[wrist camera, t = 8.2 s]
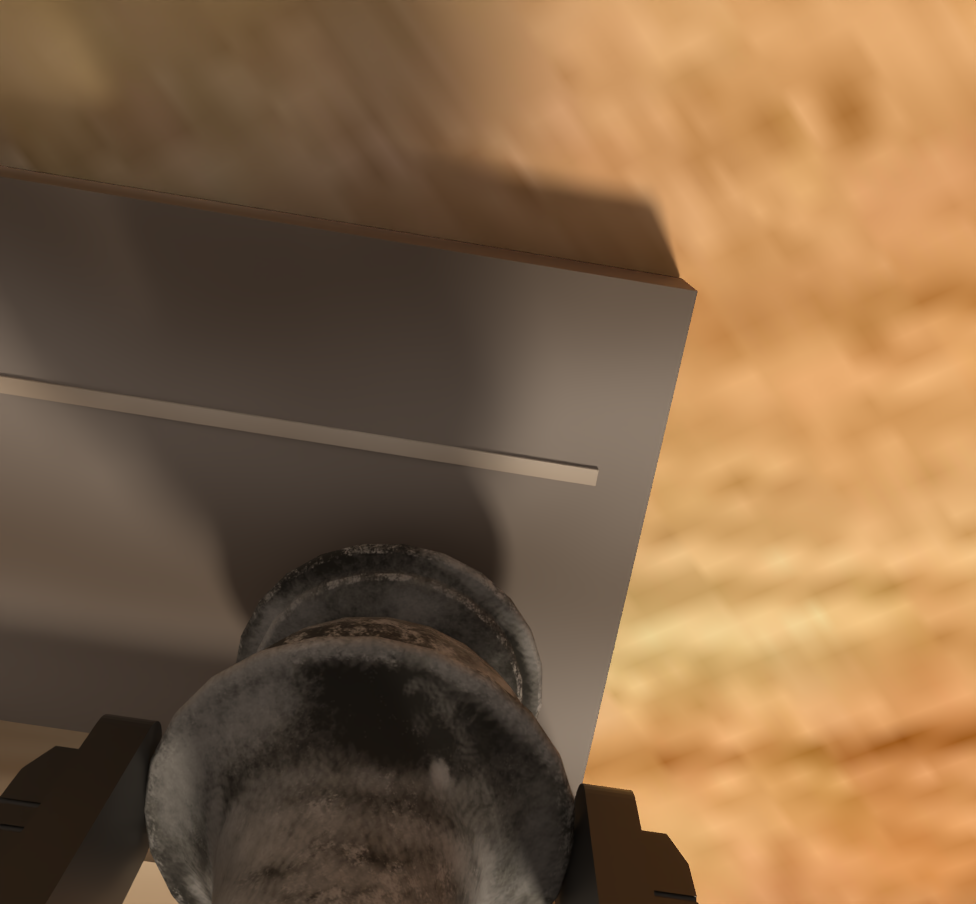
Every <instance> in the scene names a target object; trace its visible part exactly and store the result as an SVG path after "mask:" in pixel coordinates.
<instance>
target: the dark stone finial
mask: <svg viewBox="0 0 976 904" xmlns="http://www.w3.org/2000/svg"><path fill="white" fill-rule="evenodd" d="M541 706H542V663H541V660H540V656H539V653H538V650H537V646H536V643H535V640H534V636H533V633H532V630H531V629H530V627H529V626H528V624H527V622H526V621H525V619H524V618H523V616H522V615H521V613H520V612H519V610H518V609H517V607H516V606H515V604H514V603H513V601H512V600H511V598H510V597H508V596H507V595H506V594H505V593H504V592H503V591H502V590H501V589H499V588H498V587H497V586H496V585H495V584H494V583H493V582H492V581H490V580H489V579H488V578H487V577H486V576H485V575H484V574H482V573H481V572H479V571H478V570H476V569H474V568H472V567H470V566H468V565H466V564H464V563H462V562H460V561H458V560H456V559H454V558H452V557H450V556H448V555H446V554H444V553H440V552H436V551H432V550H427V549H423V548H419V547H415V546H410V545H406V544H359V545H355V546H352V547H348V548H344V549H340V550H336V551H332V552H328V553H324V554H321V555H319V556H317V557H315V558H314V559H312V560H310V561H308V562H306V563H305V564H303V565H301V566H299V567H297V568H296V569H294V570H292V571H290V572H288V573H287V574H286V575H285V576H284V577H283V578H282V579H281V580H280V581H279V582H278V583H277V584H276V585H275V586H274V587H273V588H272V589H271V590H270V591H269V592H268V593H267V594H266V595H265V596H264V597H263V598H262V599H261V600H260V601H259V603H258V605H257V607H256V609H255V610H254V612H253V614H252V616H251V618H250V620H249V622H248V623H247V625H246V627H245V629H244V631H243V633H242V635H241V639H240V644H239V649H238V655H237V660H236V664H235V665H233V666H231V667H229V668H227V669H225V670H223V671H222V672H220V673H218V674H216V675H214V676H212V677H211V678H210V679H209V680H208V681H207V682H206V683H205V684H204V685H203V686H202V687H201V688H200V689H199V690H198V691H197V692H196V693H195V694H194V695H193V696H192V697H191V698H190V699H189V700H188V701H187V702H186V703H185V704H184V705H183V706H182V707H181V708H180V709H179V710H178V711H177V712H176V713H175V714H174V716H173V718H172V719H171V721H170V723H169V725H168V727H167V729H166V731H165V733H164V735H163V737H162V738H161V740H160V742H159V744H158V746H157V748H156V750H155V752H154V754H153V756H152V757H151V759H150V764H149V770H148V776H147V785H146V796H145V807H144V812H145V823H146V829H147V835H148V841H149V848H150V853H151V855H152V857H153V859H154V861H155V863H156V865H157V867H158V869H159V871H160V873H161V875H162V877H163V879H164V881H165V883H166V885H167V887H168V889H169V891H170V893H171V895H172V896H173V898H174V899H175V900H176V901H177V902H178V903H179V904H552V903H553V902H554V901H555V899H556V898H557V897H558V895H559V893H560V890H561V887H562V884H563V881H564V879H565V875H566V872H567V868H568V865H569V861H570V857H571V853H572V848H573V842H574V824H575V803H574V798H573V795H572V792H571V788H570V785H569V782H568V779H567V775H566V772H565V769H564V765H563V762H562V759H561V756H560V754H559V752H558V751H557V749H556V748H555V746H554V745H553V743H552V742H551V740H550V739H549V737H548V736H547V734H546V733H545V731H544V730H543V728H542V727H541V726H540V724H539V723H538V721H537V718H538V715H539V712H540V709H541Z"/></svg>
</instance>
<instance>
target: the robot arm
mask: <svg viewBox="0 0 976 904" xmlns="http://www.w3.org/2000/svg"><path fill="white" fill-rule="evenodd" d="M161 738H162V727H161V724H160V722H159V721H154V720H147V719H140V718H133V717H126V716H119V715H112V714H104V715H103V716H102V717H101V718H100V719H99V720H98V722H97V723H96V725H95V726H94V727H93V729H92V730H91V732H90V733H89V735H88V736H87V738H86V739H85V740H84V742H83V743H82V745H81V746H80V748H79V749H76V748H69V747H62V746H55V747H53V748H52V749H50V750H48V751H47V752H45V753H44V754H42V755H41V756H39V757H38V758H36V759H35V760H33V761H32V762H30V763H29V764H27V765H26V766H24V767H23V768H21V770H20V771H19V772H18V774H17V775H16V776H15V777H14V779H13V780H12V781H11V783H10V784H9V785H8V787H7V788H6V789H5V791H4V792H3V793H2V795H1V796H0V904H123V902H124V900H125V898H126V896H127V894H128V892H129V890H130V888H131V886H132V883H133V881H134V879H135V877H136V875H137V873H138V871H139V869H140V867H141V865H142V863H143V861H144V859H145V857H146V855H147V852H148V849H149V841H148V835H147V829H146V823H145V812H144V807H145V796H146V785H147V776H148V770H149V764H150V759H151V757H152V756H153V754H154V752H155V750H156V748H157V746H158V744H159V742H160V740H161ZM574 803H575V824H574V842H573V848H572V853H571V857H570V861H569V865H568V868H567V872H566V875H565V879H564V881H563V884H562V887H561V890H560V893H559V895H558V897H557V898H556V899H555V904H698V903H697V902H696V897H697V896H696V892H695V888H694V884H693V880H692V876H691V872H690V868H689V865H688V863H687V861H686V860H685V859H684V857H683V856H682V855H681V853H680V852H679V850H678V849H677V848H676V846H675V845H674V844H673V842H672V841H671V839H670V838H669V837H668V835H667V834H663V833H656V832H649V831H642V830H641V825H640V820H639V815H638V811H637V806H636V801H635V796H634V794H633V792H632V791H631V790H624V789H617V788H610V787H603V786H596V785H590V784H583V783H581V784H580V785H579V787H578V789H577V792H576V796H575V800H574Z"/></svg>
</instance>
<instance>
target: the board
mask: <svg viewBox="0 0 976 904" xmlns="http://www.w3.org/2000/svg"><path fill="white" fill-rule="evenodd" d="M696 296H697V290H695V289H694V288H693V287H692V286H690V285H689V284H688V283H687V282H685V281H684V280H683V279H682V278H677V277H671V276H665V275H659V274H653V273H647V272H641V271H635V270H629V269H623V268H617V267H610V266H604V265H598V264H592V263H586V262H580V261H574V260H568V259H562V258H556V257H550V256H544V255H538V254H532V253H526V252H520V251H514V250H507V249H501V248H495V247H489V246H483V245H477V244H471V243H465V242H459V241H453V240H447V239H441V238H435V237H429V236H423V235H417V234H410V233H404V232H398V231H392V230H386V229H380V228H374V227H368V226H362V225H356V224H350V223H344V222H338V221H332V220H326V219H320V218H314V217H307V216H301V215H295V214H289V213H283V212H277V211H271V210H265V209H259V208H253V207H247V206H241V205H235V204H229V203H223V202H217V201H210V200H204V199H198V198H192V197H186V196H180V195H174V194H168V193H162V192H156V191H150V190H144V189H138V188H132V187H126V186H120V185H114V184H107V183H101V182H95V181H89V180H83V179H77V178H71V177H65V176H59V175H53V174H47V173H41V172H35V171H29V170H23V169H17V168H10V167H4V166H0V796H1V795H2V793H3V792H4V791H5V789H6V788H7V787H8V785H9V784H10V783H11V781H12V780H13V779H14V777H15V776H16V775H17V774H18V772H19V771H20V770H21V768H23V767H24V766H26V765H27V764H29V763H30V762H32V761H33V760H35V759H36V758H38V757H39V756H41V755H42V754H44V753H45V752H47V751H48V750H50V749H52V748H53V747H55V746H62V747H69V748H76V749H79V748H80V746H81V745H82V743H83V742H84V740H85V739H86V738H87V736H88V735H89V733H90V732H91V730H92V729H93V727H94V726H95V725H96V723H97V722H98V720H99V719H100V718H101V717H102V716H103V715H104V714H112V715H119V716H126V717H133V718H140V719H147V720H154V721H159V722H160V724H161V727H162V737H163V735H164V733H165V731H166V729H167V727H168V725H169V723H170V721H171V719H172V718H173V716H174V714H175V713H176V712H177V711H178V710H179V709H180V708H181V707H182V706H183V705H184V704H185V703H186V702H187V701H188V700H189V699H190V698H191V697H192V696H193V695H194V694H195V693H196V692H197V691H198V690H199V689H200V688H201V687H202V686H203V685H204V684H205V683H206V682H207V681H208V680H209V679H210V678H211V677H212V676H214V675H216V674H218V673H220V672H222V671H223V670H225V669H227V668H229V667H231V666H233V665H235V664H236V660H237V655H238V649H239V644H240V639H241V635H242V633H243V631H244V629H245V627H246V625H247V623H248V622H249V620H250V618H251V616H252V614H253V612H254V610H255V609H256V607H257V605H258V603H259V601H260V600H261V599H262V598H263V597H264V596H265V595H266V594H267V593H268V592H269V591H270V590H271V589H272V588H273V587H274V586H275V585H276V584H277V583H278V582H279V581H280V580H281V579H282V578H283V577H284V576H285V575H286V574H287V573H288V572H290V571H292V570H294V569H296V568H297V567H299V566H301V565H303V564H305V563H306V562H308V561H310V560H312V559H314V558H315V557H317V556H319V555H321V554H324V553H328V552H332V551H336V550H340V549H344V548H348V547H352V546H355V545H359V544H406V545H410V546H415V547H419V548H423V549H427V550H432V551H436V552H440V553H444V554H446V555H448V556H450V557H452V558H454V559H456V560H458V561H460V562H462V563H464V564H466V565H468V566H470V567H472V568H474V569H476V570H478V571H479V572H481V573H482V574H484V575H485V576H486V577H487V578H488V579H489V580H490V581H492V582H493V583H494V584H495V585H496V586H497V587H498V588H499V589H501V590H502V591H503V592H504V593H505V594H506V595H507V596H508V597H510V598H511V600H512V601H513V603H514V604H515V606H516V607H517V609H518V610H519V612H520V613H521V615H522V616H523V618H524V619H525V621H526V622H527V624H528V626H529V627H530V629H531V630H532V633H533V636H534V640H535V643H536V646H537V650H538V653H539V656H540V660H541V663H542V706H541V709H540V712H539V715H538V718H537V721H538V723H539V724H540V726H541V727H542V728H543V730H544V731H545V733H546V734H547V736H548V737H549V739H550V740H551V742H552V743H553V745H554V746H555V748H556V749H557V751H558V752H559V754H560V756H561V759H562V762H563V765H564V769H565V772H566V775H567V779H568V782H569V785H570V788H571V792H572V795H573V798H574V800H575V796H576V792H577V789H578V787H579V785H580V784H581V783H582V782H583V778H584V773H585V769H586V765H587V761H588V756H589V752H590V748H591V744H592V739H593V735H594V731H595V727H596V722H597V718H598V714H599V709H600V705H601V701H602V697H603V692H604V688H605V684H606V680H607V675H608V671H609V667H610V663H611V658H612V654H613V650H614V645H615V641H616V637H617V633H618V628H619V624H620V620H621V616H622V611H623V607H624V603H625V599H626V594H627V590H628V586H629V581H630V577H631V573H632V569H633V564H634V560H635V556H636V552H637V547H638V543H639V539H640V535H641V530H642V526H643V522H644V517H645V513H646V509H647V505H648V500H649V496H650V492H651V488H652V483H653V479H654V475H655V471H656V466H657V462H658V458H659V453H660V449H661V445H662V441H663V436H664V432H665V428H666V424H667V419H668V415H669V411H670V407H671V402H672V398H673V394H674V389H675V385H676V381H677V377H678V372H679V368H680V364H681V360H682V355H683V351H684V347H685V342H686V338H687V334H688V330H689V325H690V321H691V317H692V313H693V308H694V304H695V300H696ZM123 904H179V903H178V902H177V901H176V900H175V899H174V898H173V896H172V895H171V893H170V891H169V889H168V887H167V885H166V883H165V881H164V879H163V877H162V875H161V873H160V871H159V869H158V867H157V865H156V863H155V861H154V859H153V857H152V855H151V853H150V848H149V849H148V852H147V855H146V857H145V859H144V861H143V863H142V865H141V867H140V869H139V871H138V873H137V875H136V877H135V879H134V881H133V883H132V886H131V888H130V890H129V892H128V894H127V896H126V898H125V900H124V902H123ZM552 904H555V901H554V902H553V903H552Z"/></svg>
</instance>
